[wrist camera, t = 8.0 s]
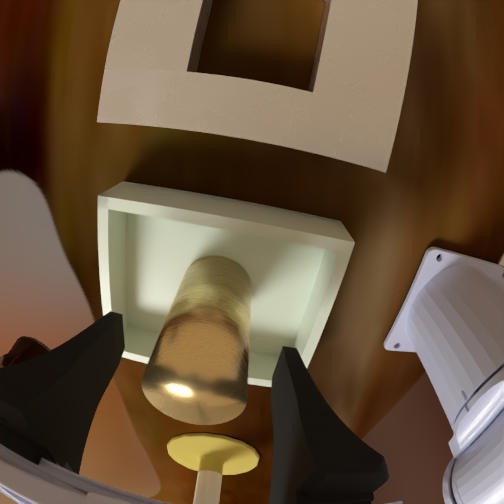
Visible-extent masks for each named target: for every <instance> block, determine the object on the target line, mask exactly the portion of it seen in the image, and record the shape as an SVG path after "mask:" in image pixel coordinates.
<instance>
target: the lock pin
mask: <svg viewBox="0 0 504 504" xmlns="http://www.w3.org/2000/svg"><path fill="white" fill-rule="evenodd" d="M251 298H252V284H251V279H250V277H249V275H248V273H247V271H246V270H245V269H244V268H243V267H242V266H241V265H240V264H239V263H237V262H236V261H234V260H232V259H230V258H227V257H223V256H206V257H203V258H200V259H198V260H196V261H195V262H193V263H192V264H191V265H190V266H189V267H188V269H187V270H186V272H185V274H184V277H183V279H182V281H181V284H180V286H179V288H178V291H177V293H176V295H175V298H174V300H173V302H172V305H171V307H170V310H169V312H168V314H167V317H166V319H165V322H164V324H163V327H162V329H161V332H160V334H159V337H158V339H157V342H156V344H155V347H154V349H153V352H152V354H151V357H150V359H149V362H148V365H147V367H146V370H145V372H144V375H143V378H142V389H143V392H144V394H145V396H146V397H147V399H148V400H149V401H150V403H151V404H152V405H153V406H155V407H156V408H157V409H158V410H160V411H161V412H163V413H164V414H166V415H168V416H170V417H172V418H174V419H177V420H180V421H183V422H187V423H191V424H199V425H213V424H220V423H224V422H227V421H230V420H232V419H234V418H236V417H237V416H238V415H240V414H241V413H242V412H243V410H244V409H245V406H246V403H247V388H248V365H249V343H250V320H251Z"/></svg>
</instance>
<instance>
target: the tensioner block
mask: <svg viewBox="0 0 504 504" xmlns="http://www.w3.org/2000/svg"><path fill="white" fill-rule="evenodd" d="M321 1H325V2H326V3H325V8H324V13H323V19H322V24H321V29H320V34H319V39H318V44H317V49H316V54H315V59H314V64H313V69H312V74H311V79H310V83H309V88H308V91H305V90H300V89H296V88H291V87H287V86H282V85H277V84H272V83H267V82H261V81H256V80H250V79H244V78H237V77H230V76H223V75H215V74H206V73H197V69H198V65H199V60H200V55H201V50H202V46H203V41H204V37H205V32H206V28H207V24H208V20H209V15H210V11H211V7H212V3H213V0H121V1H120V5H119V8H118V12H117V16H116V19H115V23H114V27H113V32H112V36H111V40H110V45H109V49H108V54H107V59H106V65H105V70H104V76H103V82H102V88H101V95H100V102H99V110H98V118H97V122H102V123H120V124H133V125H145V126H156V127H165V128H174V129H183V130H190V131H198V132H205V133H212V134H218V135H225V136H231V137H237V138H243V139H248V140H254V141H259V142H264V143H269V144H274V145H279V146H284V147H289V148H293V149H298V150H302V151H307V152H311V153H315V154H319V155H323V156H327V157H331V158H335V159H339V160H343V161H347V162H350V163H354V164H358V165H361V166H365V167H368V168H372V169H375V170H378V171H382V172H385V173H386V170H387V167H388V163H389V159H390V155H391V151H392V147H393V143H394V139H395V135H396V131H397V126H398V122H399V117H400V113H401V108H402V103H403V98H404V93H405V88H406V83H407V77H408V71H409V65H410V59H411V53H412V46H413V39H414V31H415V23H416V14H417V4H418V0H321Z"/></svg>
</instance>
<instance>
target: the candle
mask: <svg viewBox="0 0 504 504" xmlns="http://www.w3.org/2000/svg"><path fill="white" fill-rule="evenodd" d="M167 449H168V454H169V455H170V456H171V457H172V458H173V459H174V460H175V461H176V462H178V463H180V464H182V465H183V466H185V467H187V468H190V469H193V470H196V471H198V476H197V483H196V489H195V495H194V501H193V504H219V499H220V490H221V481H222V475H234V474H239V473H243V472H248V471H250V470H251V469H253V468H254V467H256V466H257V464H258V461H259V458H260V456H259V455H258V453H257V451H256V450H255V448H253V447H251V446H249V445H248V444H246V443H244V442H243V441H240V440H236V439H233V438H230V437H227V436H223V435H215V434H208V433H185V434H182V435H179V436H176V437H173V438H172V439H171V440H170V441H169V442H168V443H167Z"/></svg>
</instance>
